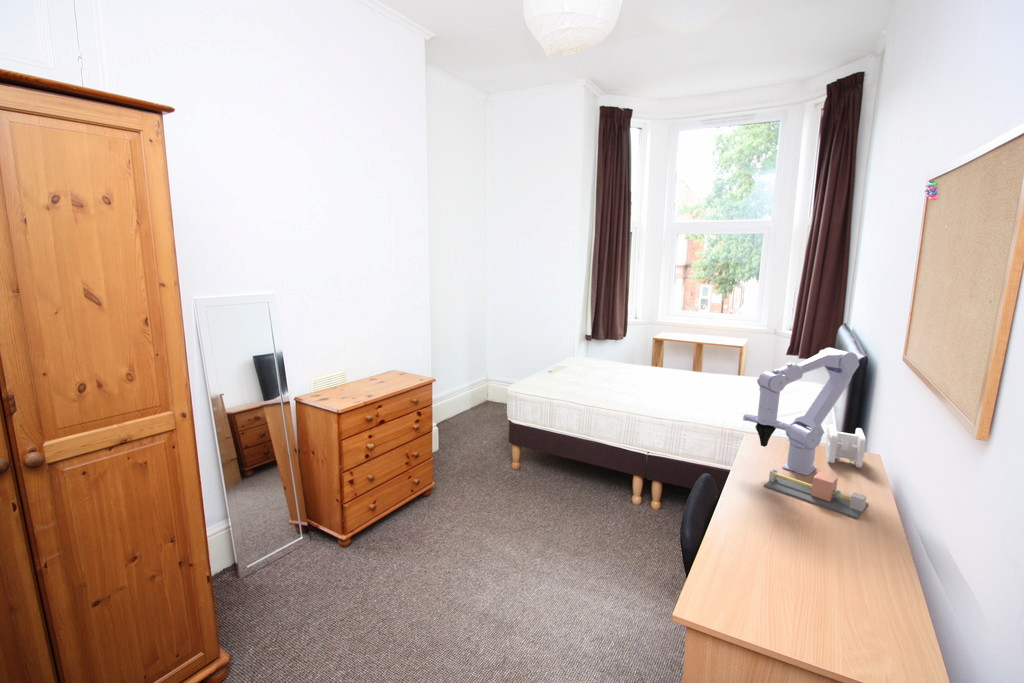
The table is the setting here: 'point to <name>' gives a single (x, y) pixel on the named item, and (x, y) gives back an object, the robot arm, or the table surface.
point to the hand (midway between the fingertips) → (763, 445)
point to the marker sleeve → (824, 486)
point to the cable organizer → (845, 445)
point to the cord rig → (803, 491)
